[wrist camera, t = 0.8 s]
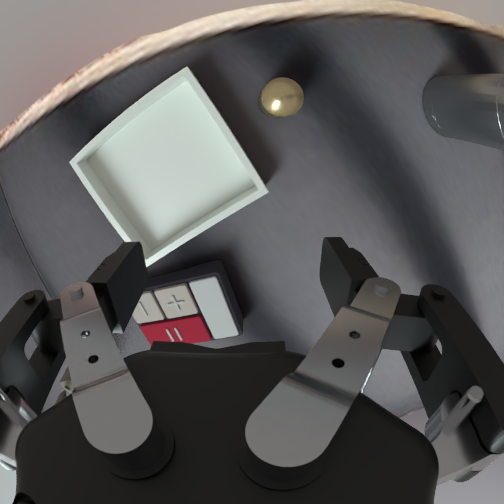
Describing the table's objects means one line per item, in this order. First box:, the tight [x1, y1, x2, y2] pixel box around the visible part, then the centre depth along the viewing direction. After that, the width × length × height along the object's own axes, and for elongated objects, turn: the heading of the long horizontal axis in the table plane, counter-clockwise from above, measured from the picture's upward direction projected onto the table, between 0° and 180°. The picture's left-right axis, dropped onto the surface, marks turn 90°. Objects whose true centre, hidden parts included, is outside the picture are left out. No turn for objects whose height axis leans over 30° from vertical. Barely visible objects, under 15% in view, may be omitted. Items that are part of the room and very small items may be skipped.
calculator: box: [132, 260, 243, 346], centre depth 39 cm, size 11×4×15 cm
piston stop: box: [258, 77, 304, 118], centre depth 27 cm, size 4×4×6 cm
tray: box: [69, 67, 268, 267], centre depth 31 cm, size 18×17×4 cm
